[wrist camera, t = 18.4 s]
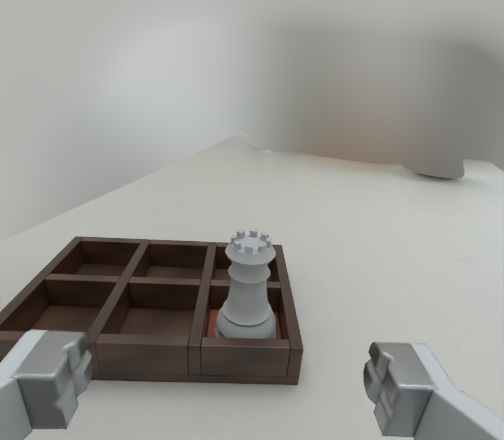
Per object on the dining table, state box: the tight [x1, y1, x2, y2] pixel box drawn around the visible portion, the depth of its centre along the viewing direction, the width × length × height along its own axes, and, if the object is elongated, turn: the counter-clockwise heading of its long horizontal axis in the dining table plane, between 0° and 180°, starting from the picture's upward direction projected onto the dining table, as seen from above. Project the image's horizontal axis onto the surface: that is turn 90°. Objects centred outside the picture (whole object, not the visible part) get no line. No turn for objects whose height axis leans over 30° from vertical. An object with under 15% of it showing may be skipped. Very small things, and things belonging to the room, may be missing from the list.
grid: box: [0, 236, 303, 384], centre depth 27 cm, size 20×13×3 cm
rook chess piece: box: [215, 229, 276, 339], centre depth 23 cm, size 4×4×8 cm
